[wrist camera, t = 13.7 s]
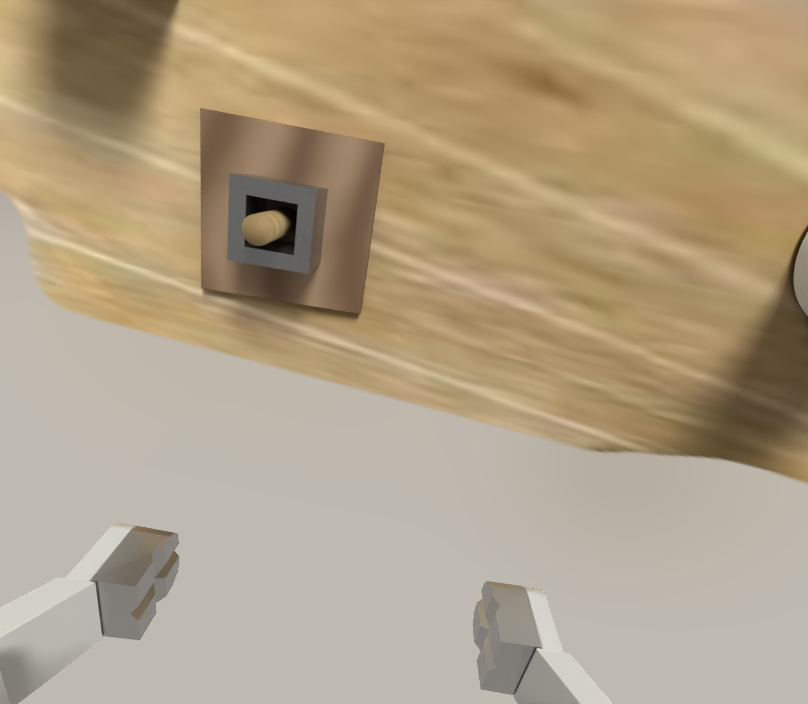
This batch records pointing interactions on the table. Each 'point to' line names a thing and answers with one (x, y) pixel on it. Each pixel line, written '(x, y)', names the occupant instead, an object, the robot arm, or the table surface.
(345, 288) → the post board
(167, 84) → the table surface
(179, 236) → the table surface
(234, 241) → the collar
